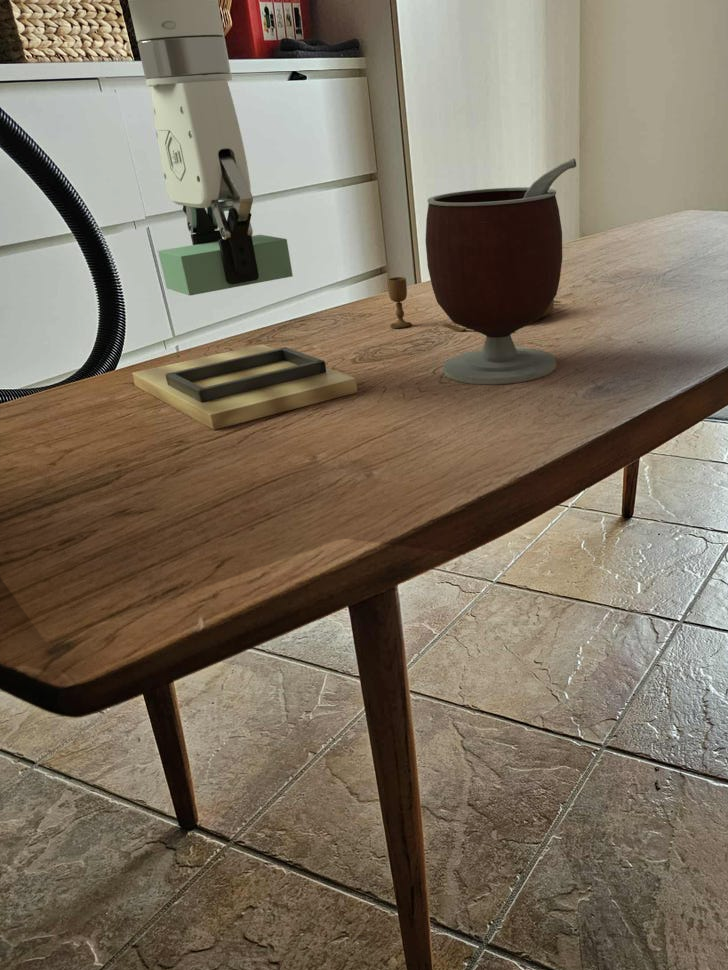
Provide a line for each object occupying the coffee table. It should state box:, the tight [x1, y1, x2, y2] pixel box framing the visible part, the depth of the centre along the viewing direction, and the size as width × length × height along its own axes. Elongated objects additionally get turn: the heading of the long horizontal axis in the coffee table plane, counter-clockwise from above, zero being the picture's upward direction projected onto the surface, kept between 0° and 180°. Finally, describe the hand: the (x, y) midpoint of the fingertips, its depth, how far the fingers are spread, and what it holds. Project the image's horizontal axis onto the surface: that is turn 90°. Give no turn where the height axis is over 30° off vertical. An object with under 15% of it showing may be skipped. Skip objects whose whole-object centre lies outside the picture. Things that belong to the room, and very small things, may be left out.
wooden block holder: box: [131, 343, 358, 431], centre depth 96 cm, size 16×22×3 cm
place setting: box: [386, 276, 562, 332], centre depth 119 cm, size 18×20×6 cm
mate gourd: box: [425, 158, 577, 385], centre depth 93 cm, size 16×14×20 cm
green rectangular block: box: [157, 234, 294, 296], centre depth 89 cm, size 11×6×4 cm, turn 128°
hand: (228, 276), depth 90 cm, fingers closed on green rectangular block, 6 cm apart
